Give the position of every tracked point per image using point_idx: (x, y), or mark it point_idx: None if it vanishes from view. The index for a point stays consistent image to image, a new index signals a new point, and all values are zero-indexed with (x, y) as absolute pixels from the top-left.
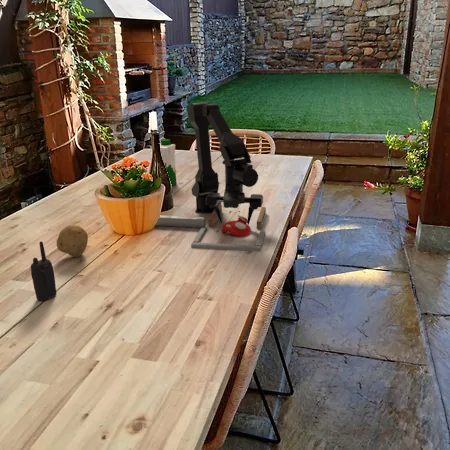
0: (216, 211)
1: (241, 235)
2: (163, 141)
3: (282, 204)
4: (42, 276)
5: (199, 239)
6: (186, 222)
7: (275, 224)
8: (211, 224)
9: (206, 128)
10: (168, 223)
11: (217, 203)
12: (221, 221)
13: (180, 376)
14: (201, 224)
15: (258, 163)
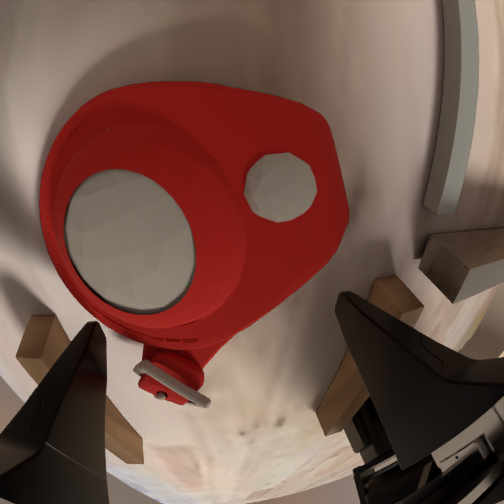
0: (452, 355)
1: (93, 102)
2: None
3: (117, 465)
4: None
5: (453, 13)
6: (501, 242)
7: (15, 368)
8: (392, 285)
9: None
10: None
11: (492, 431)
12: (352, 302)
13: None
14: (454, 245)
15: (246, 499)
